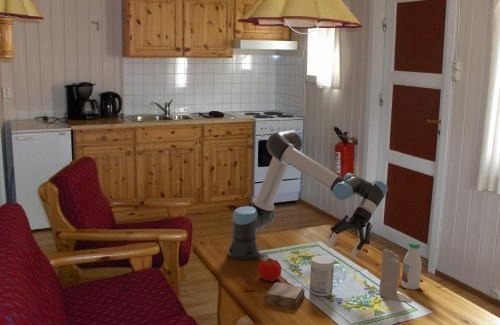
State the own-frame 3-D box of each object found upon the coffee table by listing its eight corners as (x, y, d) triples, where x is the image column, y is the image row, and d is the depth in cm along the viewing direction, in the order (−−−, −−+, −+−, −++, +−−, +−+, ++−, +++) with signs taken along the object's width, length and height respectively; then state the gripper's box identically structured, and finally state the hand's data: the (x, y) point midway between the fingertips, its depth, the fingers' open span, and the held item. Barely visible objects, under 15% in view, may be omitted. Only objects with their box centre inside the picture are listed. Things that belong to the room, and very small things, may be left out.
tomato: (261, 285, 232) (262, 266, 231) (254, 275, 243) (255, 256, 241) (284, 283, 235) (285, 264, 234) (276, 273, 246) (277, 255, 244)
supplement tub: (320, 285, 234) (322, 253, 231) (336, 293, 227) (339, 260, 224) (304, 291, 228) (306, 258, 225) (321, 299, 221) (323, 265, 218)
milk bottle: (419, 284, 240) (424, 241, 236) (418, 291, 232) (423, 247, 229) (401, 281, 242) (405, 239, 238) (400, 288, 235) (404, 244, 231)
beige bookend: (409, 304, 219) (414, 257, 215) (376, 295, 226) (380, 250, 223) (414, 298, 225) (419, 252, 222) (382, 289, 232) (386, 245, 229)
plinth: (264, 302, 215) (265, 293, 215) (274, 290, 227) (274, 281, 227) (296, 309, 211) (296, 299, 210) (304, 295, 223) (304, 286, 222)
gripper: (391, 223, 230) (366, 264, 224) (346, 209, 249) (322, 246, 242) (385, 213, 226) (359, 254, 219) (339, 200, 245) (314, 237, 238)
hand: (340, 250), depth 231 cm, fingers open, 13 cm apart
